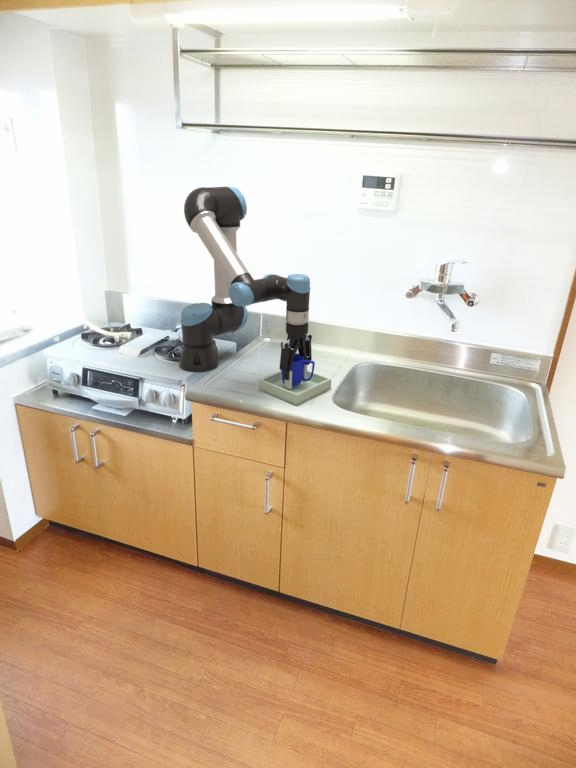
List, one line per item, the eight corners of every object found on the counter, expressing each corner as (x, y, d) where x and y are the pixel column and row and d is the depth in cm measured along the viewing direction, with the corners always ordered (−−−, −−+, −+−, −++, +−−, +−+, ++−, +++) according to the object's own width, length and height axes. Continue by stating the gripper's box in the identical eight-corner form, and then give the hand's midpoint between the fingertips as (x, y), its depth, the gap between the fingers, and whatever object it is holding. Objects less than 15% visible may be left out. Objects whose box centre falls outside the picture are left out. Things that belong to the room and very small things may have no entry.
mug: (311, 390, 174) (312, 364, 169) (277, 386, 176) (277, 360, 172) (316, 380, 181) (316, 355, 177) (283, 377, 184) (283, 351, 179)
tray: (258, 390, 178) (259, 379, 176) (293, 375, 190) (294, 365, 189) (296, 406, 167) (297, 395, 166) (330, 389, 180) (331, 378, 178)
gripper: (285, 331, 159) (284, 396, 169) (324, 318, 173) (321, 379, 183) (268, 325, 164) (268, 389, 173) (307, 313, 178) (305, 373, 187)
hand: (295, 384), depth 178 cm, fingers closed on mug, 7 cm apart
